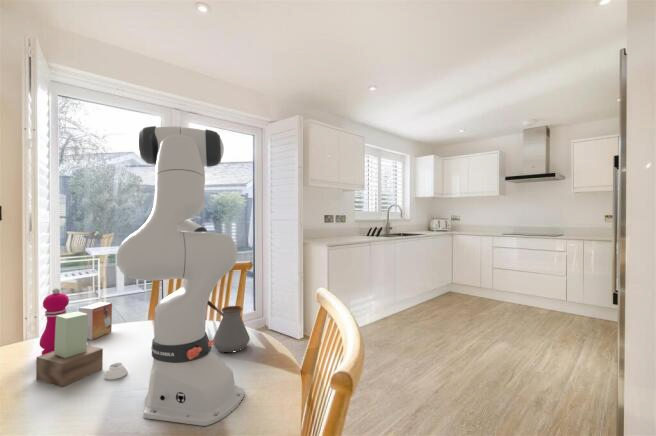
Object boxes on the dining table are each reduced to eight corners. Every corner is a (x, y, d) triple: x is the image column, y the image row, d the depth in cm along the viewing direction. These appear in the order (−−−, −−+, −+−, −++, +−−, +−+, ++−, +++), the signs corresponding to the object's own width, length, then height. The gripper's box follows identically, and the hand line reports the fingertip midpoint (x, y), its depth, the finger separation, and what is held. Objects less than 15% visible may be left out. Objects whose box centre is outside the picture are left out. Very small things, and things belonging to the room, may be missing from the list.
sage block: (86, 351, 88) (88, 313, 88) (64, 358, 83) (66, 318, 83) (75, 347, 90) (77, 311, 90) (54, 354, 85) (55, 315, 85)
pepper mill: (32, 358, 95) (33, 290, 95) (58, 348, 102) (59, 284, 102) (52, 361, 93) (52, 291, 93) (76, 351, 100) (77, 286, 100)
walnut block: (102, 370, 90) (102, 348, 90) (62, 388, 80) (62, 364, 80) (77, 363, 93) (77, 342, 93) (36, 380, 84) (36, 357, 84)
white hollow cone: (131, 372, 89) (114, 370, 89) (131, 361, 89) (114, 360, 89) (117, 381, 84) (99, 380, 84) (117, 370, 84) (99, 368, 84)
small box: (91, 340, 109) (92, 309, 109) (78, 338, 110) (78, 307, 110) (112, 332, 117) (112, 302, 117) (99, 330, 118) (99, 301, 118)
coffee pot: (257, 346, 108) (257, 300, 107) (230, 359, 98) (231, 309, 97) (212, 333, 118) (212, 291, 118) (184, 343, 108) (184, 298, 108)
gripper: (143, 249, 117) (105, 253, 104) (189, 251, 110) (154, 255, 97) (143, 267, 117) (105, 272, 104) (189, 270, 110) (154, 277, 97)
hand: (129, 264), depth 100 cm, fingers open, 8 cm apart
